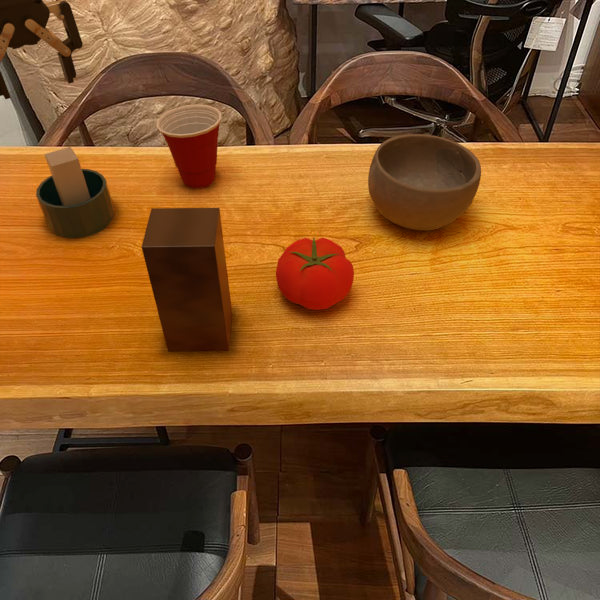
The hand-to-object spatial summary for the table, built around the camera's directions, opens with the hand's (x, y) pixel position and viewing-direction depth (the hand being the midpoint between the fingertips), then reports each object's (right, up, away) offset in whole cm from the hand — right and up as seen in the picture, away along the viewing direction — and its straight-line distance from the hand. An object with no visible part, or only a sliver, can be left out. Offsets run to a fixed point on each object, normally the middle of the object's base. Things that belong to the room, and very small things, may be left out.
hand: (38, 88), depth 80 cm
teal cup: (0, -15, +16) cm, 22 cm away
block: (0, -15, +16) cm, 22 cm away
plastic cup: (+18, -8, +24) cm, 31 cm away
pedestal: (+23, -33, -1) cm, 40 cm away
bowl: (+56, -14, +17) cm, 60 cm away
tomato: (+38, -28, +4) cm, 47 cm away
